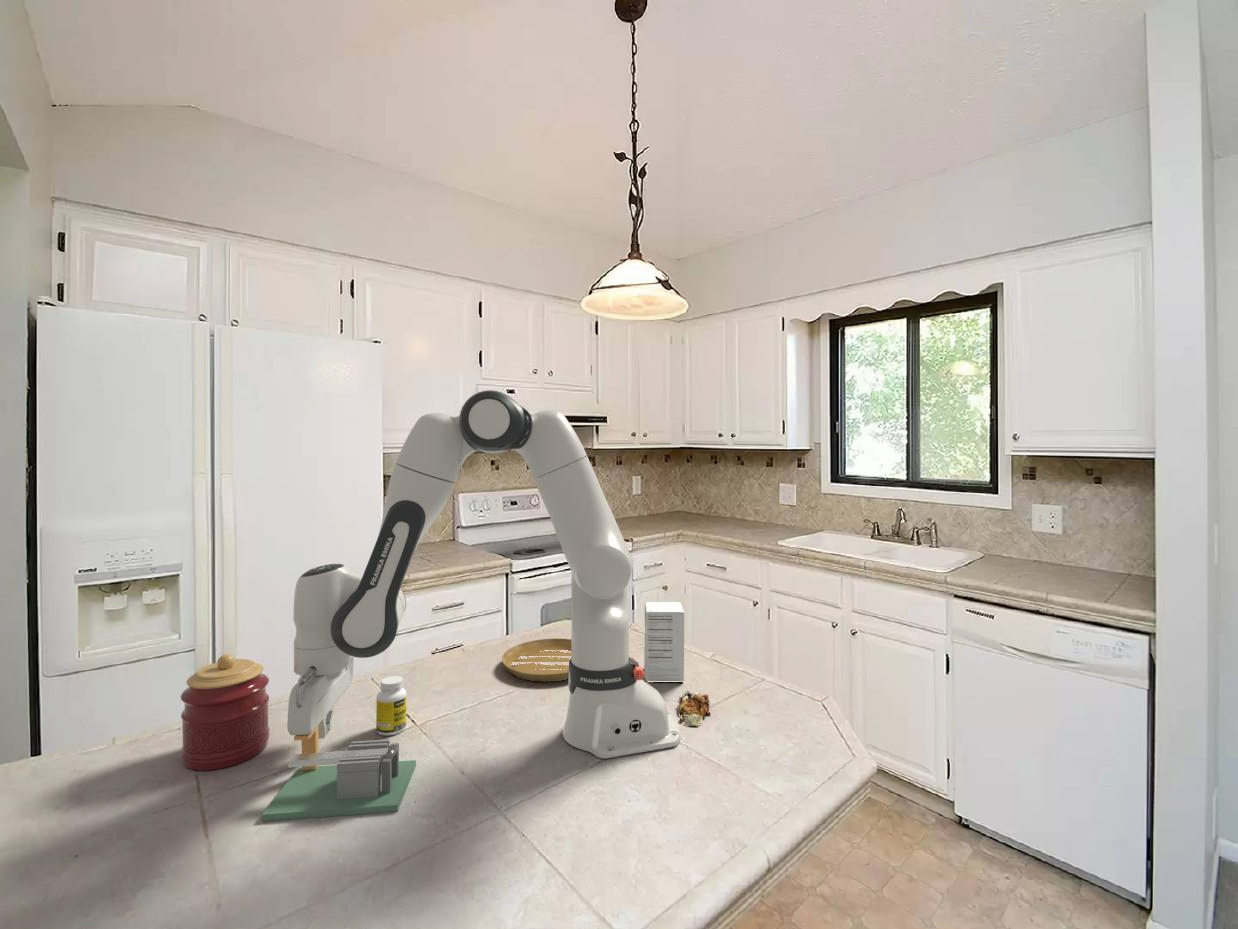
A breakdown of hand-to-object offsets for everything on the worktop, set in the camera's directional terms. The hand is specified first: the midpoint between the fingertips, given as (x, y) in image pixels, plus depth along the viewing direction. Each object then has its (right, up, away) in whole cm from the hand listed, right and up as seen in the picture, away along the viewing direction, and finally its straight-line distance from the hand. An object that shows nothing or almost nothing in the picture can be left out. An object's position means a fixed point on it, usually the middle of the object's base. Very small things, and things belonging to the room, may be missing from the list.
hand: (322, 734), depth 101 cm
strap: (+9, +1, -11) cm, 14 cm away
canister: (-18, -4, +1) cm, 18 cm away
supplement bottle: (+8, -4, +10) cm, 13 cm away
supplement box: (+63, -4, +37) cm, 73 cm away
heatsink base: (+9, -4, -10) cm, 14 cm away
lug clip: (+1, -3, -7) cm, 8 cm away
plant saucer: (+35, -3, +42) cm, 55 cm away
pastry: (+68, -4, +18) cm, 71 cm away
